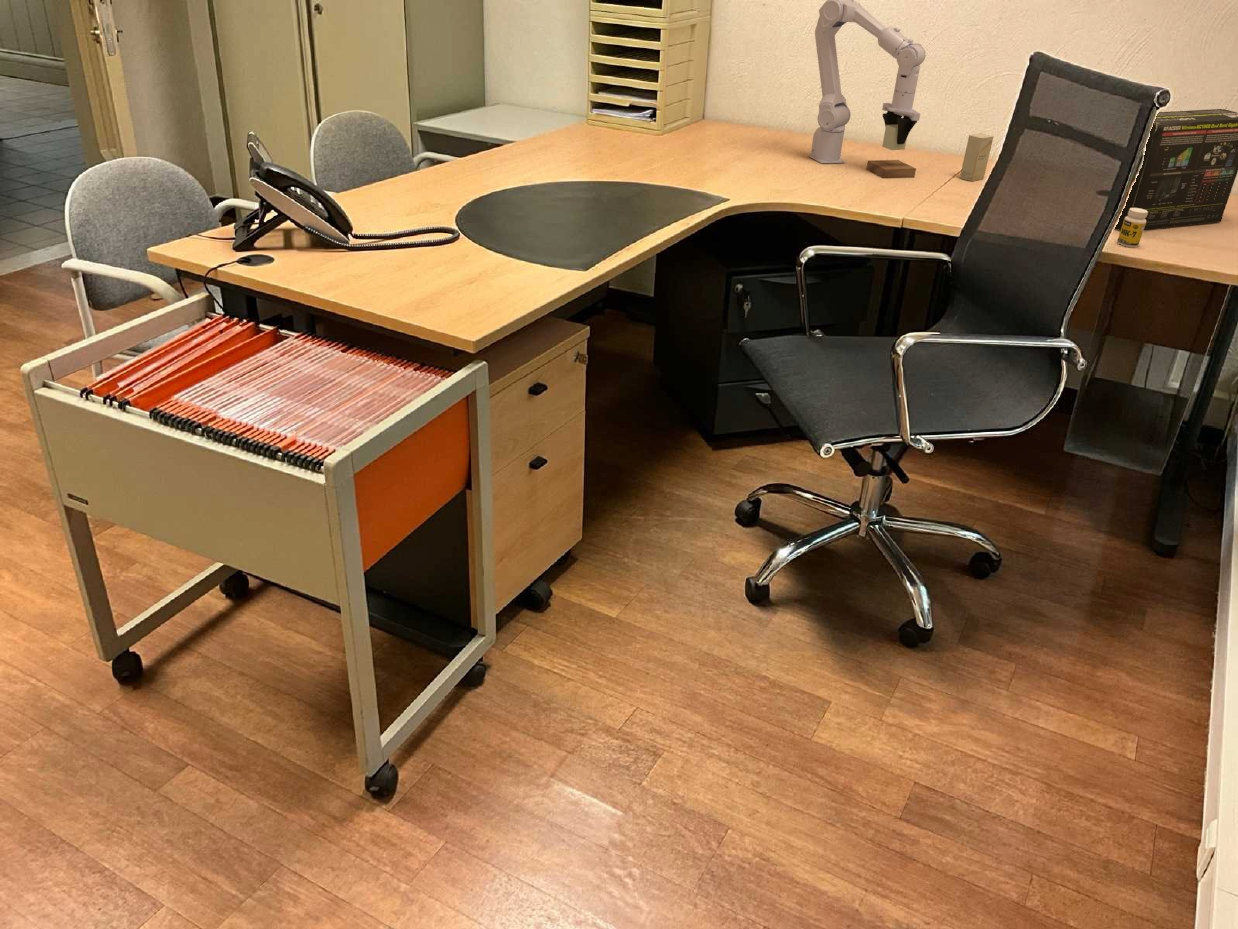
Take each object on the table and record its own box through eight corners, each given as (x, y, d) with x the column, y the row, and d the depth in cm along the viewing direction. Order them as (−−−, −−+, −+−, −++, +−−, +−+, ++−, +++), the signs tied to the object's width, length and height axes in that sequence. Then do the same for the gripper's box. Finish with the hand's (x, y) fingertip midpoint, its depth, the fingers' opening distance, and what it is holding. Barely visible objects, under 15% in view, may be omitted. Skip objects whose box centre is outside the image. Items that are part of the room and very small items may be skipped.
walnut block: (865, 170, 288) (867, 160, 286) (896, 170, 290) (898, 159, 289) (883, 179, 279) (885, 169, 278) (914, 179, 282) (916, 168, 281)
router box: (1186, 210, 266) (1222, 107, 252) (1222, 223, 257) (1261, 116, 243) (1088, 220, 253) (1120, 111, 239) (1122, 233, 244) (1158, 121, 230)
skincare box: (971, 181, 281) (982, 138, 275) (958, 178, 284) (968, 134, 278) (984, 179, 284) (994, 135, 278) (971, 175, 287) (980, 132, 281)
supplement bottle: (1113, 243, 236) (1124, 209, 232) (1121, 240, 239) (1132, 205, 235) (1133, 249, 233) (1145, 214, 229) (1141, 245, 236) (1152, 210, 232)
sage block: (882, 146, 282) (886, 124, 279) (895, 145, 283) (899, 124, 280) (891, 150, 278) (895, 128, 275) (904, 149, 280) (908, 127, 277)
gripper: (877, 86, 277) (868, 136, 284) (908, 96, 266) (899, 148, 273) (897, 86, 280) (888, 135, 287) (930, 96, 268) (919, 147, 275)
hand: (895, 141), depth 280 cm, fingers closed on sage block, 4 cm apart
